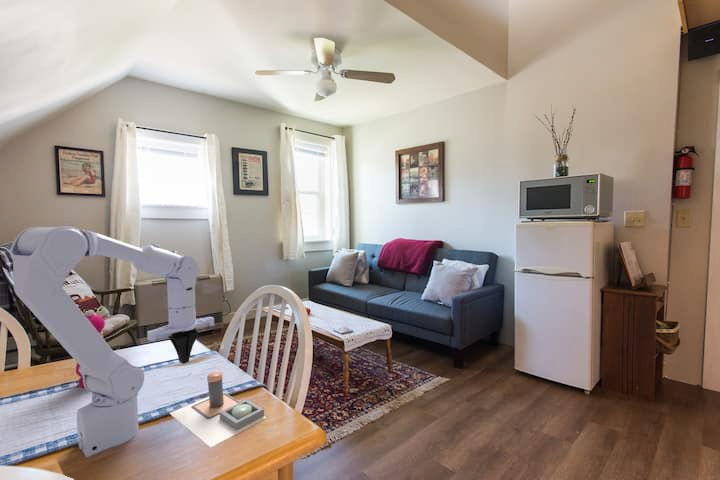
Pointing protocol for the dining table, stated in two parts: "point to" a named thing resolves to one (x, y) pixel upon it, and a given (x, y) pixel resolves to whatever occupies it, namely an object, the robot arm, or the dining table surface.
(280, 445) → the dining table surface
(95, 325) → the pepper mill
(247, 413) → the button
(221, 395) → the marker
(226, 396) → the board
